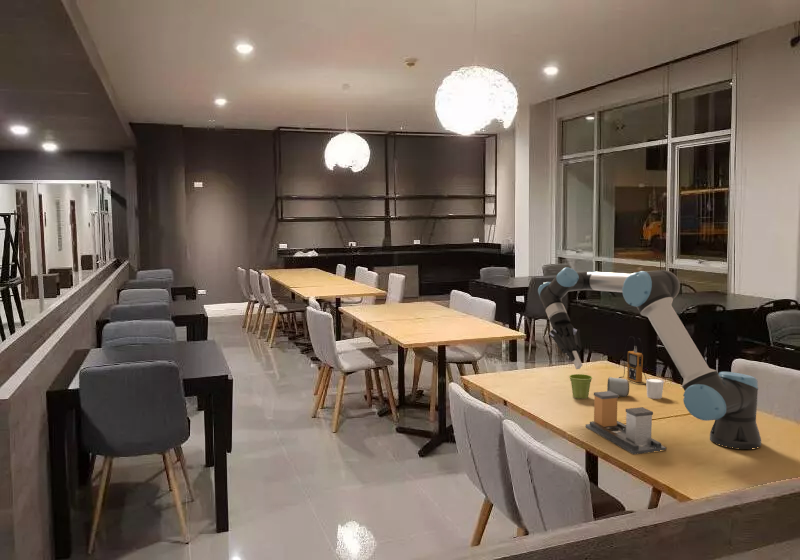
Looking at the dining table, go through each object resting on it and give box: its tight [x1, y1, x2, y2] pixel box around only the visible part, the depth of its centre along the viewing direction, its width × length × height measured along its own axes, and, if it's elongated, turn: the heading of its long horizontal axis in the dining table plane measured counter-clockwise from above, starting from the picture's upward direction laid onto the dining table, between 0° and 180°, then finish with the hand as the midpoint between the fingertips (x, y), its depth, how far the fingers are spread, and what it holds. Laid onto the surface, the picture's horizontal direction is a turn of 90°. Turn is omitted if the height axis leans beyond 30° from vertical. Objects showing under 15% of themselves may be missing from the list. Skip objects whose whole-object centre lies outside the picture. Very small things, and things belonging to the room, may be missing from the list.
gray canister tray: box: [585, 406, 667, 455], centre depth 222 cm, size 28×12×12 cm, turn 16°
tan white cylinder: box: [645, 378, 665, 400], centre depth 272 cm, size 7×7×7 cm
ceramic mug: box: [606, 376, 630, 397], centre depth 276 cm, size 11×8×8 cm
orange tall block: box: [593, 390, 619, 427], centre depth 232 cm, size 5×6×11 cm
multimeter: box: [618, 336, 648, 386], centre depth 297 cm, size 15×10×20 cm
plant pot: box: [568, 373, 593, 400], centre depth 272 cm, size 9×9×9 cm
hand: (579, 367), depth 248 cm, fingers closed
